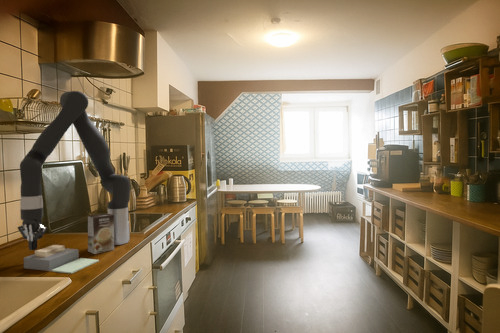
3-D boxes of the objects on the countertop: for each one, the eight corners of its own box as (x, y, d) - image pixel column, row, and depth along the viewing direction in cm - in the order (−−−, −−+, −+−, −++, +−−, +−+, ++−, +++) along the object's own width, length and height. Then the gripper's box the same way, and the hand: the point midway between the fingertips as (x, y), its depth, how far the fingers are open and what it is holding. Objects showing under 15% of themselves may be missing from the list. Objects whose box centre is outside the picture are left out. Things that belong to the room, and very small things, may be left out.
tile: (54, 249, 131) (54, 244, 130) (64, 250, 129) (64, 245, 129) (34, 256, 122) (34, 251, 122) (45, 257, 121) (45, 252, 120)
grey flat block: (55, 256, 134) (55, 247, 134) (78, 259, 131) (78, 249, 131) (23, 268, 120) (23, 257, 120) (49, 271, 117) (49, 260, 117)
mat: (80, 259, 130) (80, 258, 130) (99, 261, 128) (99, 259, 128) (51, 271, 117) (51, 269, 117) (71, 273, 115) (71, 272, 115)
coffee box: (94, 254, 136) (93, 217, 136) (87, 251, 141) (86, 215, 140) (114, 249, 144) (114, 214, 143) (107, 247, 148) (107, 212, 147)
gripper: (53, 206, 129) (54, 248, 130) (27, 204, 133) (28, 245, 133) (36, 209, 122) (37, 253, 123) (9, 207, 125) (11, 251, 126)
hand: (33, 249), depth 128 cm, fingers closed
